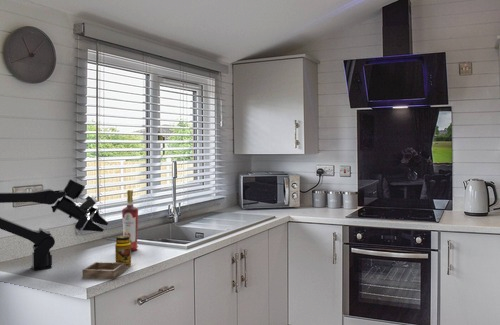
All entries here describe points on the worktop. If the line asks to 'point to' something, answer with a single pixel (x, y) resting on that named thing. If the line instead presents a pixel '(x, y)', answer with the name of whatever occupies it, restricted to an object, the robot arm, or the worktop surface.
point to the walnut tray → (104, 270)
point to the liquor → (130, 221)
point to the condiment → (123, 250)
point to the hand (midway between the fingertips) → (105, 227)
